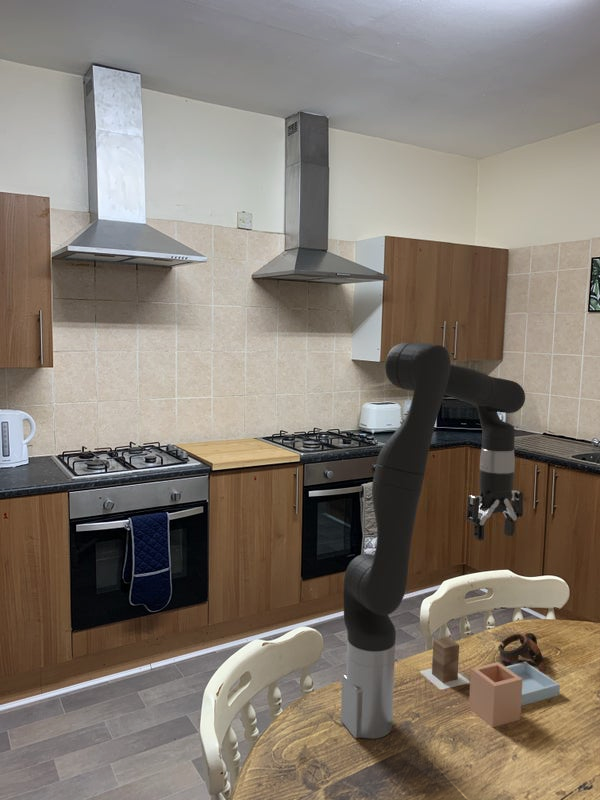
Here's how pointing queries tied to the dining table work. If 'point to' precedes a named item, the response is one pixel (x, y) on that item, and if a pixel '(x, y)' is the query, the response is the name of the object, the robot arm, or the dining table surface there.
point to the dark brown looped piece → (522, 649)
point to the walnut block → (445, 659)
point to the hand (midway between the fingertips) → (494, 537)
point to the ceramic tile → (441, 686)
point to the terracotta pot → (495, 694)
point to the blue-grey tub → (534, 683)
